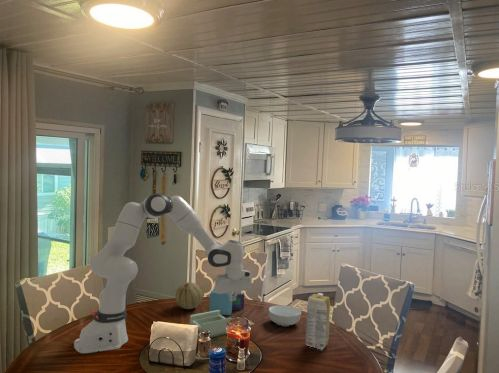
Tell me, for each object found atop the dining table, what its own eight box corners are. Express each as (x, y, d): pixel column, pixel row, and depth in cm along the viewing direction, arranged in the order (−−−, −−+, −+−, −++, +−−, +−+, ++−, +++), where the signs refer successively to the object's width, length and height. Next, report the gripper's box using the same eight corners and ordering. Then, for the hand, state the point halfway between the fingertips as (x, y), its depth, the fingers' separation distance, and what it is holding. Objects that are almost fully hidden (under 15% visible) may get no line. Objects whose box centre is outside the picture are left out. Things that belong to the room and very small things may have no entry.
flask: (227, 309, 224) (228, 290, 223) (227, 307, 226) (228, 289, 226) (243, 310, 224) (244, 291, 223) (243, 308, 227) (244, 289, 226)
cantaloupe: (202, 304, 231) (203, 278, 230) (201, 313, 216) (201, 286, 215) (176, 303, 230) (177, 278, 229) (173, 312, 215) (174, 285, 214)
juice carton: (329, 345, 182) (331, 294, 181) (323, 352, 175) (326, 298, 174) (310, 340, 187) (312, 290, 186) (303, 346, 180) (306, 294, 179)
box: (202, 339, 183) (202, 324, 183) (189, 329, 194) (190, 315, 194) (231, 332, 192) (232, 318, 192) (218, 323, 203) (218, 309, 203)
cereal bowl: (306, 328, 202) (307, 314, 201) (276, 331, 196) (277, 317, 195) (290, 316, 217) (291, 303, 217) (263, 319, 211) (263, 306, 211)
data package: (231, 312, 219) (232, 290, 219) (231, 315, 215) (232, 293, 214) (209, 311, 219) (210, 290, 219) (209, 314, 215) (209, 292, 214)
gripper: (218, 276, 190) (217, 305, 190) (254, 272, 201) (252, 299, 202) (212, 273, 195) (211, 301, 196) (247, 269, 207) (245, 296, 207)
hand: (232, 300), depth 199 cm, fingers closed
